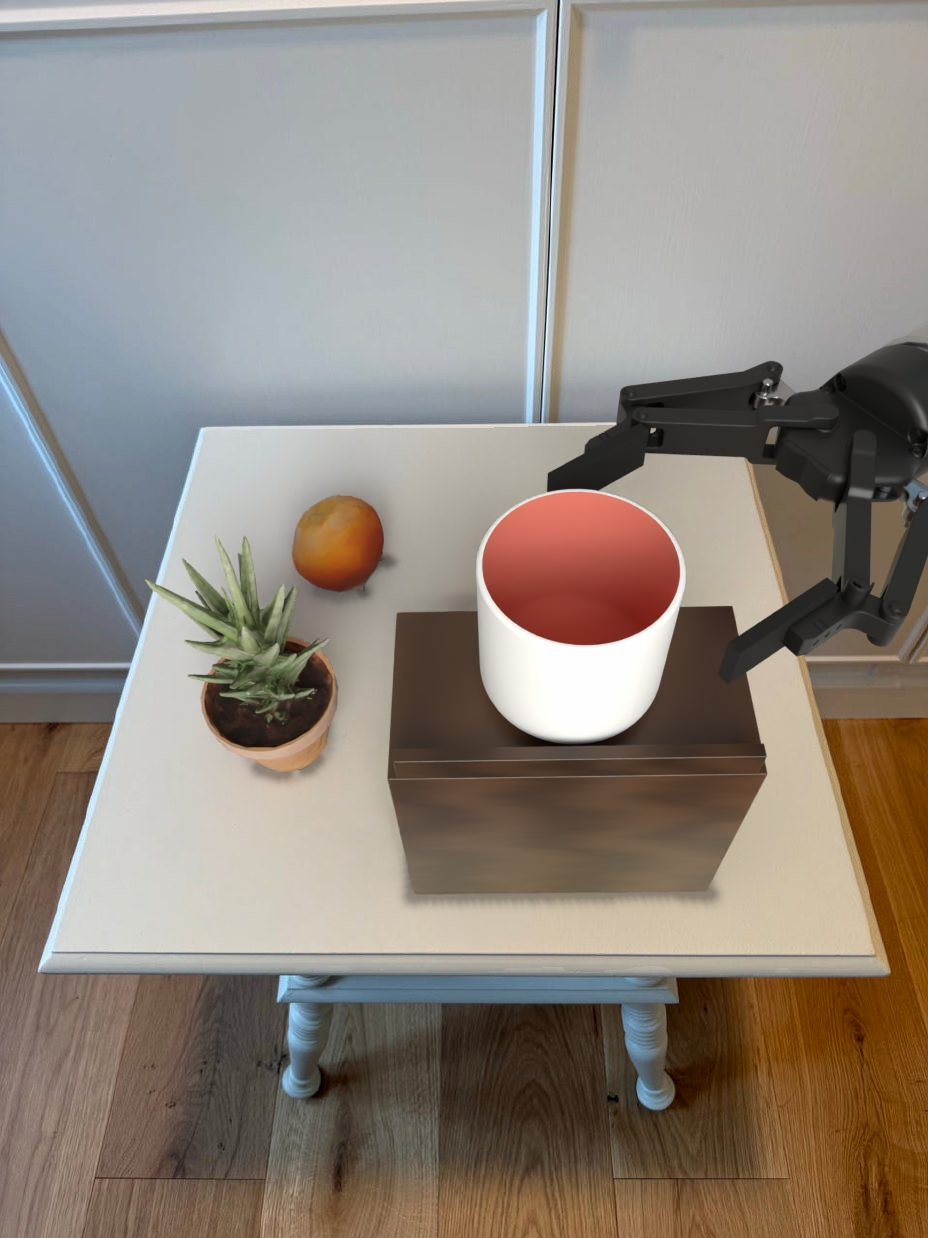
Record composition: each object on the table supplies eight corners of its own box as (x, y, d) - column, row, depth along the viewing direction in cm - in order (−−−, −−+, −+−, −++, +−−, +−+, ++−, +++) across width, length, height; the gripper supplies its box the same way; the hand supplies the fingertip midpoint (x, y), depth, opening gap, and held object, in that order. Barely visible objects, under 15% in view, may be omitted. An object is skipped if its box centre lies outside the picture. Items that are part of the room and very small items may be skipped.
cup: (695, 692, 51) (731, 582, 43) (552, 788, 48) (561, 689, 40) (582, 577, 56) (595, 459, 48) (446, 658, 53) (435, 546, 45)
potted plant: (226, 805, 68) (109, 606, 48) (225, 696, 73) (120, 476, 53) (361, 784, 68) (302, 578, 48) (350, 677, 74) (293, 453, 54)
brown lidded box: (684, 747, 69) (739, 584, 53) (706, 891, 63) (777, 756, 47) (419, 751, 70) (393, 591, 54) (414, 894, 63) (382, 762, 47)
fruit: (385, 609, 76) (327, 543, 71) (319, 616, 81) (261, 555, 76) (421, 538, 80) (369, 471, 76) (357, 549, 85) (303, 487, 80)
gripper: (1074, 579, 50) (797, 788, 44) (745, 347, 63) (491, 482, 56) (1153, 482, 44) (845, 708, 38) (770, 246, 57) (489, 385, 50)
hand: (632, 573), depth 47 cm, fingers open, 13 cm apart
